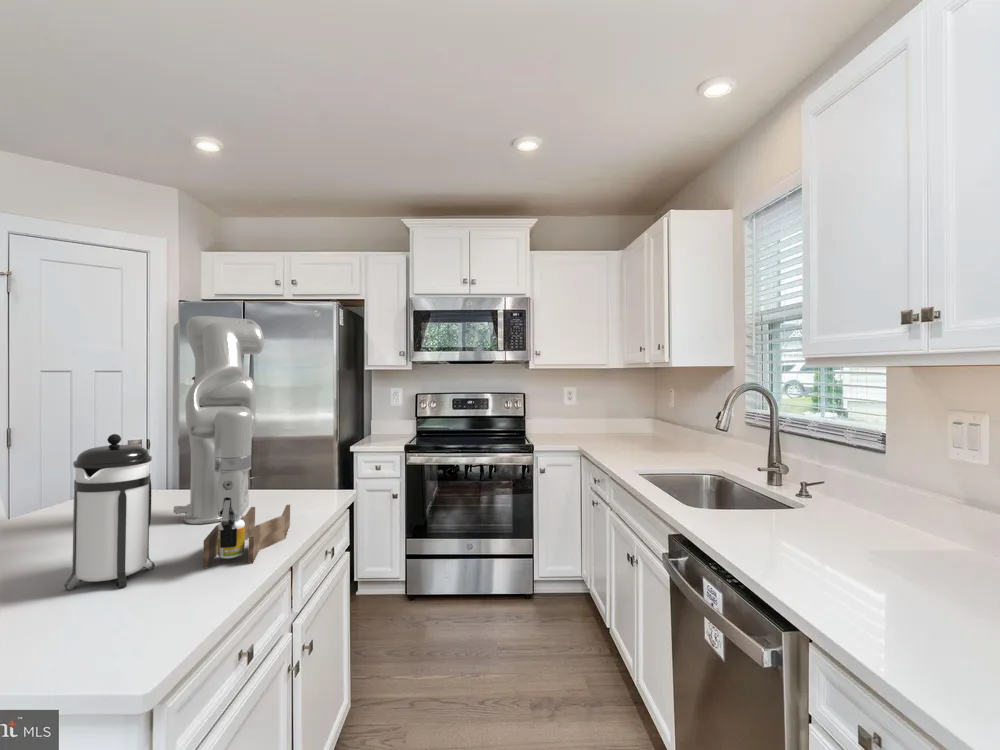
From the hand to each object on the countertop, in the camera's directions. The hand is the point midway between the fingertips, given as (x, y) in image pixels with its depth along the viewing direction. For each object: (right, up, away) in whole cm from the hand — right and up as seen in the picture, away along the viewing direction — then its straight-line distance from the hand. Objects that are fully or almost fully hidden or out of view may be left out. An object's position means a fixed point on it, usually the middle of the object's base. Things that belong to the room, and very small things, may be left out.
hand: (231, 541), depth 113 cm
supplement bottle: (0, -3, 0) cm, 3 cm away
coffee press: (-19, -4, -10) cm, 22 cm away
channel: (-1, -4, +11) cm, 12 cm away
